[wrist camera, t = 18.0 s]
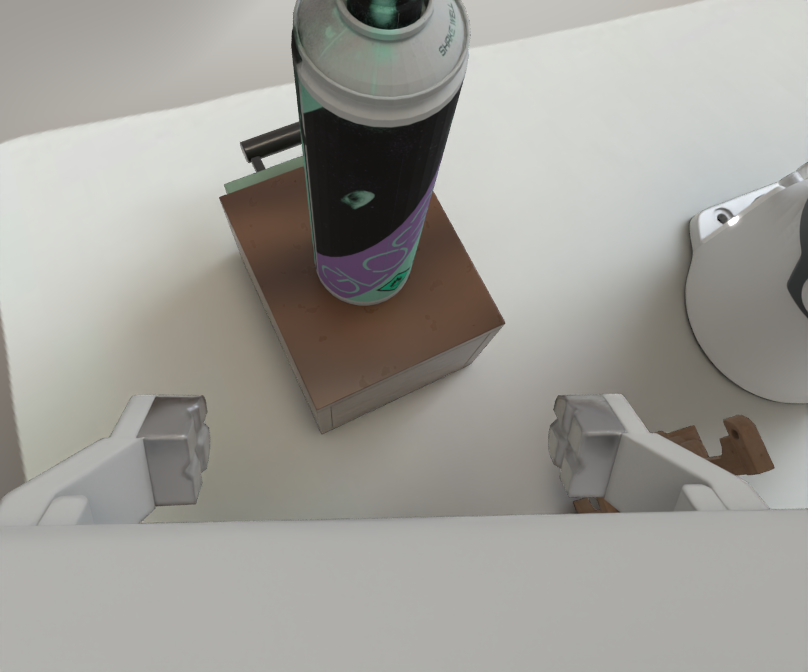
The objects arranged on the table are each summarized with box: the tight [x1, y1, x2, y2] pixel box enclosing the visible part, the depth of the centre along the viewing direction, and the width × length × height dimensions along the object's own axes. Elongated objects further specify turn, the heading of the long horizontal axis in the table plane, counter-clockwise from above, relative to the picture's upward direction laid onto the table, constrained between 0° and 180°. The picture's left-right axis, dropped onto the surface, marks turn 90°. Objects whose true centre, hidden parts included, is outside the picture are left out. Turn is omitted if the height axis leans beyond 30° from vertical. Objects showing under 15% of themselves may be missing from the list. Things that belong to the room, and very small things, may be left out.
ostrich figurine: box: [573, 415, 774, 514], centre depth 32 cm, size 17×7×18 cm, turn 18°
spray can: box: [291, 0, 471, 306], centre depth 25 cm, size 6×6×20 cm
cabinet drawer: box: [224, 122, 304, 194], centre depth 40 cm, size 17×10×8 cm, turn 26°
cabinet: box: [219, 166, 505, 434], centre depth 40 cm, size 14×12×10 cm
